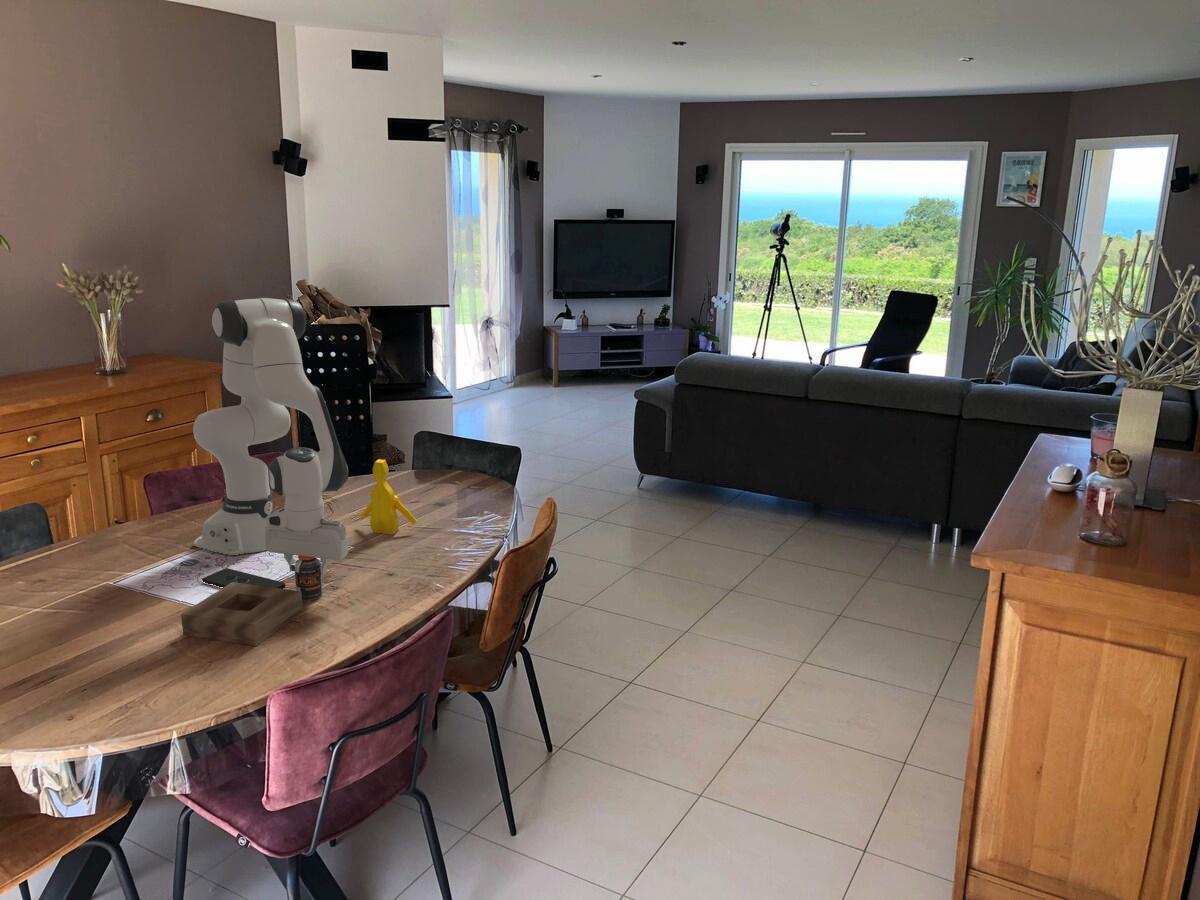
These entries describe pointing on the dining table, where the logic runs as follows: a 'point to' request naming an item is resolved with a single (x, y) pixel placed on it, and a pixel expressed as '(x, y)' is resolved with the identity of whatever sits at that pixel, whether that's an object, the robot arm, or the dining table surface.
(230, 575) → the smart home device
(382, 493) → the figure statuette
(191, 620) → the walnut holder
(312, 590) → the pill bottle
